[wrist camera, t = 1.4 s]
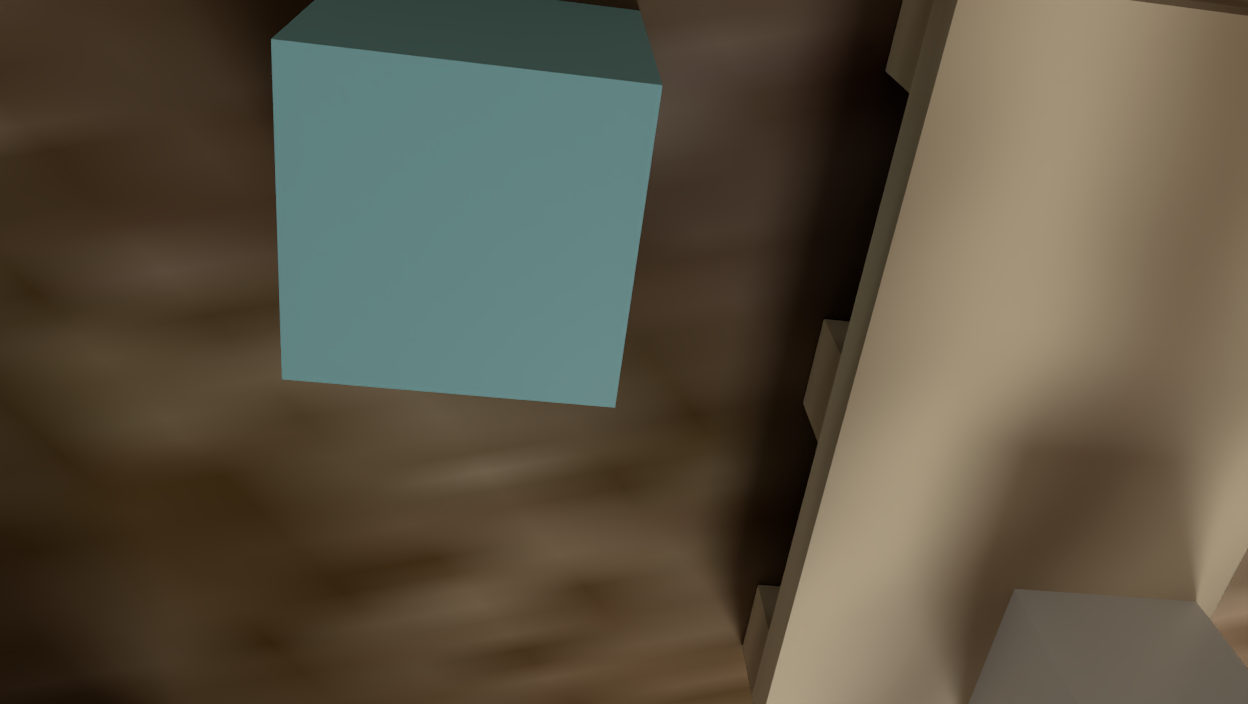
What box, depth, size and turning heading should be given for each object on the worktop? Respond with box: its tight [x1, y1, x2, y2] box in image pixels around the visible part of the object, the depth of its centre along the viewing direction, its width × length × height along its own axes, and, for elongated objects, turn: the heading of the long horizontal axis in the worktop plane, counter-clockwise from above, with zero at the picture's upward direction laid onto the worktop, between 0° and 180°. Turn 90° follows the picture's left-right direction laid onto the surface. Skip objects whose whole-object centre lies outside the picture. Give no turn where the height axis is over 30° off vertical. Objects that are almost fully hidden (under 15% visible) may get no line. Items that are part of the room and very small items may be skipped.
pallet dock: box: [742, 0, 1248, 704], centre depth 21 cm, size 9×16×2 cm, turn 173°
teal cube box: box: [271, 0, 662, 408], centre depth 17 cm, size 5×5×5 cm
